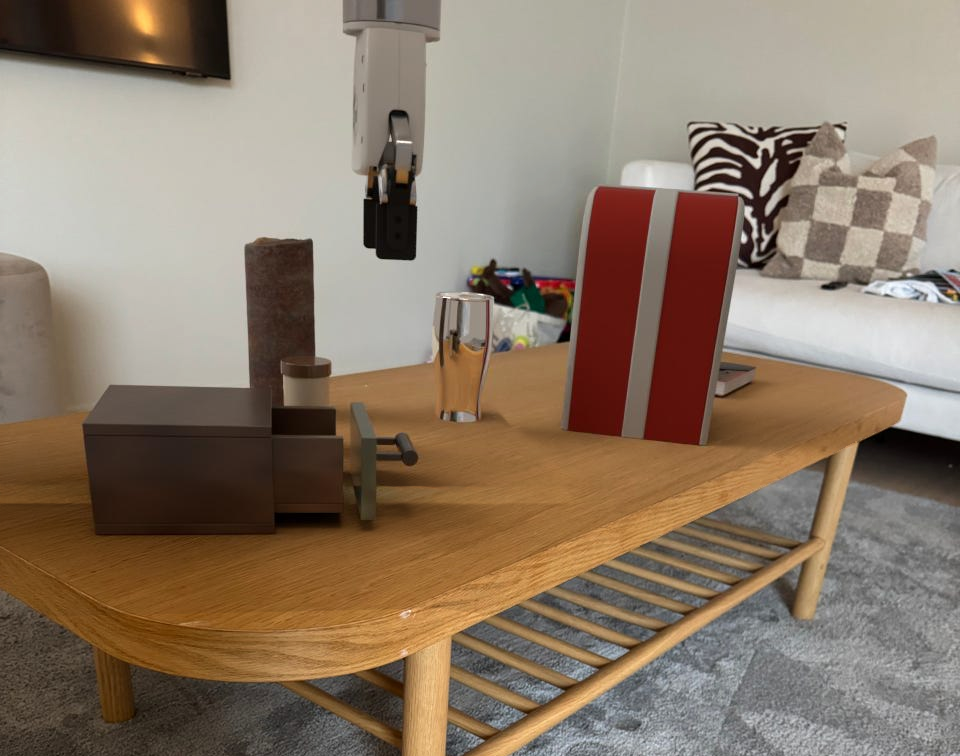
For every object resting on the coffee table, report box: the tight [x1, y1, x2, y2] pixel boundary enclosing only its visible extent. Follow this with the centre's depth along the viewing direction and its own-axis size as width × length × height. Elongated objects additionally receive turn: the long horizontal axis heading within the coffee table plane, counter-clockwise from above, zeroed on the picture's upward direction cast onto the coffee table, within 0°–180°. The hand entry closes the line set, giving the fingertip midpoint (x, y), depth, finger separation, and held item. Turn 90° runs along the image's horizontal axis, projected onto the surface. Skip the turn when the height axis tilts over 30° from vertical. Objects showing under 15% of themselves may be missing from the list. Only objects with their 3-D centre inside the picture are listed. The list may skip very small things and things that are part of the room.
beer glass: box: [431, 291, 495, 423], centre depth 109 cm, size 7×7×15 cm
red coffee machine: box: [560, 183, 746, 446], centre depth 116 cm, size 16×18×27 cm
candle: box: [243, 236, 316, 406], centre depth 104 cm, size 8×7×20 cm
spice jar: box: [281, 356, 333, 407], centre depth 94 cm, size 5×5×10 cm
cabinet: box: [81, 384, 276, 536], centre depth 81 cm, size 14×14×9 cm
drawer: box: [272, 401, 419, 521], centre depth 83 cm, size 16×13×7 cm
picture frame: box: [715, 361, 757, 398], centre depth 150 cm, size 16×2×22 cm
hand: (388, 253), depth 81 cm, fingers open, 9 cm apart
